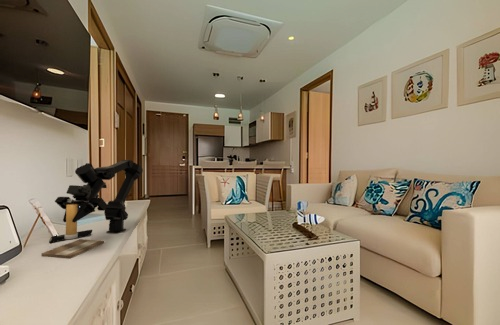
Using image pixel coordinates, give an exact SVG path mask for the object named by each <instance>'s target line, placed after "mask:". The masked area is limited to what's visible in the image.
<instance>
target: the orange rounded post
mask: <svg viewBox="0 0 500 325" xmlns="http://www.w3.org/2000/svg"><path fill="white" fill-rule="evenodd" d="M65 211H66V222H65V236H64V239H67V240H73V239H74V238H75V239H78V238H77V237H78V233H77V232H78V221H76V222H72V220H73V219H74V217H75V215H76V214H77V212H78V211H79V208H78V204H68V205H67V206H66V209H65ZM75 239H74V240H75Z"/></svg>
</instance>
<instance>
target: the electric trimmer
mask: <svg viewBox="0 0 500 325" xmlns="http://www.w3.org/2000/svg"><path fill="white" fill-rule="evenodd" d="M77 233H78V237H77V238H74V240H75V239H79V238H82V237H87V236H89V235H90V236H91V234H92V233H93V229H87V230H82V231H77ZM65 234H66V233H65ZM65 234H60V235H57V234H55V235H56V236H55V235H52V236H51V237H50V239H49V240H48V243H49V244H55V242H62V241H65V240H68V239H64V236H65Z"/></svg>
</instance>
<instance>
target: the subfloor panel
mask: <svg viewBox="0 0 500 325" xmlns="http://www.w3.org/2000/svg"><path fill="white" fill-rule="evenodd" d="M103 244H105V240H101V239H100V240H99V239H83V238H80V239H79V238H78V239H77V240H74V241H71V242H69V243H66V244H63V245H60V246H57V247H55V248H53V249H49V250H47V251H44V252H42V253H41V254H40V256H41V257H46V258H47V257H48V258H49V257H50V258H59V259H72V258H75V257H77V256H79V255H81V254H83V253H85V252H87V251H90V250H92V249H94V248H96V247H99V246H102V245H103Z"/></svg>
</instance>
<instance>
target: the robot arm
mask: <svg viewBox="0 0 500 325" xmlns="http://www.w3.org/2000/svg"><path fill="white" fill-rule="evenodd" d="M122 171H124V176H125V177H124V180H123V181H122V184H121V186H120V188H119V190H118V192H117V194H116V196H115V198H114V199H113V200H109V201H108V202H106V201H105V200H104V198H102V197H100V195H99V192H101V191H102V189H107V188H108V187H107V184H106V183H107V182H105V181H110V180H112V179H113V178H114V177H116V175H117V174H118V173H119V172H122ZM143 172H144V171H143V167H141V166H140V164H138V163H136V162H134V161H133V160H131V159H122V160H121V161H118V162H116V163H114V164H111V165H107V166H99V167H95V168H94V166H93V164H92V163H90V162H89V163H85V164H84V165H81V166H79V167H77V168H76V169H75V171H74V173H75V174H76V175H77V177H78V178H79V179H80V180H81V181H82V183H84V184H83V185H75V184H73V185H70V184H69V186H68V188H67V190H66V194H69V195H72V198H73V199H72V198H71V197H70V196H58V197H57V198H56V199H55V200H54V203H56V204H57V205H58V206H59V207H60V208H62V210H65V212H64V215H63V218H62V219H63V220H62V222H63V223H66V206H67V205H68V204H78V206H79V208H78V211H77V214H76V215H75V217H74V219H73V220H72V222H76V221H77V222H78V221H79V220H81V219H83V218H85V217H87V216H88V215H90V214H91V213H94V212H96V209H97V210H98V211H104V217H105V220H106V221H109V224H108V230H107V231H106V233H110V234H119V233H121V232H124V231H126V230H127V228H124V222H125V221H126V220H127V219H128V217H129V213H127V211H126V201H127V198H128V197H129V195H130V192H131V189H132V188H133V185H134V183H135V181H136V180H138V179H139V178H140V177H141V176H142V174H143ZM74 199H75V200H74Z"/></svg>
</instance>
